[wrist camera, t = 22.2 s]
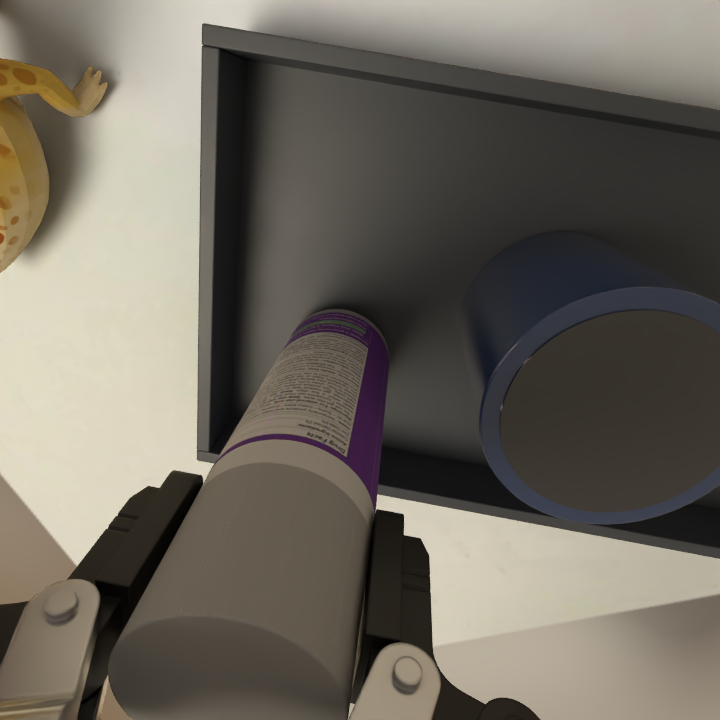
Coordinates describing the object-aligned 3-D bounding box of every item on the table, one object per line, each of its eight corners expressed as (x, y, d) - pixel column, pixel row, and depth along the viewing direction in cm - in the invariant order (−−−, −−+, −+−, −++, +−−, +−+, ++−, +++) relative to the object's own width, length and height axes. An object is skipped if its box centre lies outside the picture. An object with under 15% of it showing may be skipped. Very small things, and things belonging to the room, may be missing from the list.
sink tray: (752, 516, 26) (804, 575, 22) (224, 417, 26) (196, 460, 23) (981, 167, 18) (1112, 175, 15) (239, 42, 19) (201, 22, 15)
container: (381, 409, 23) (340, 792, 10) (284, 393, 23) (111, 749, 10) (397, 317, 21) (372, 637, 8) (291, 300, 21) (86, 586, 8)
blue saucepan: (857, 280, 20) (1119, 368, 12) (756, 444, 23) (915, 589, 16) (484, 214, 20) (524, 263, 13) (439, 385, 23) (452, 501, 16)
